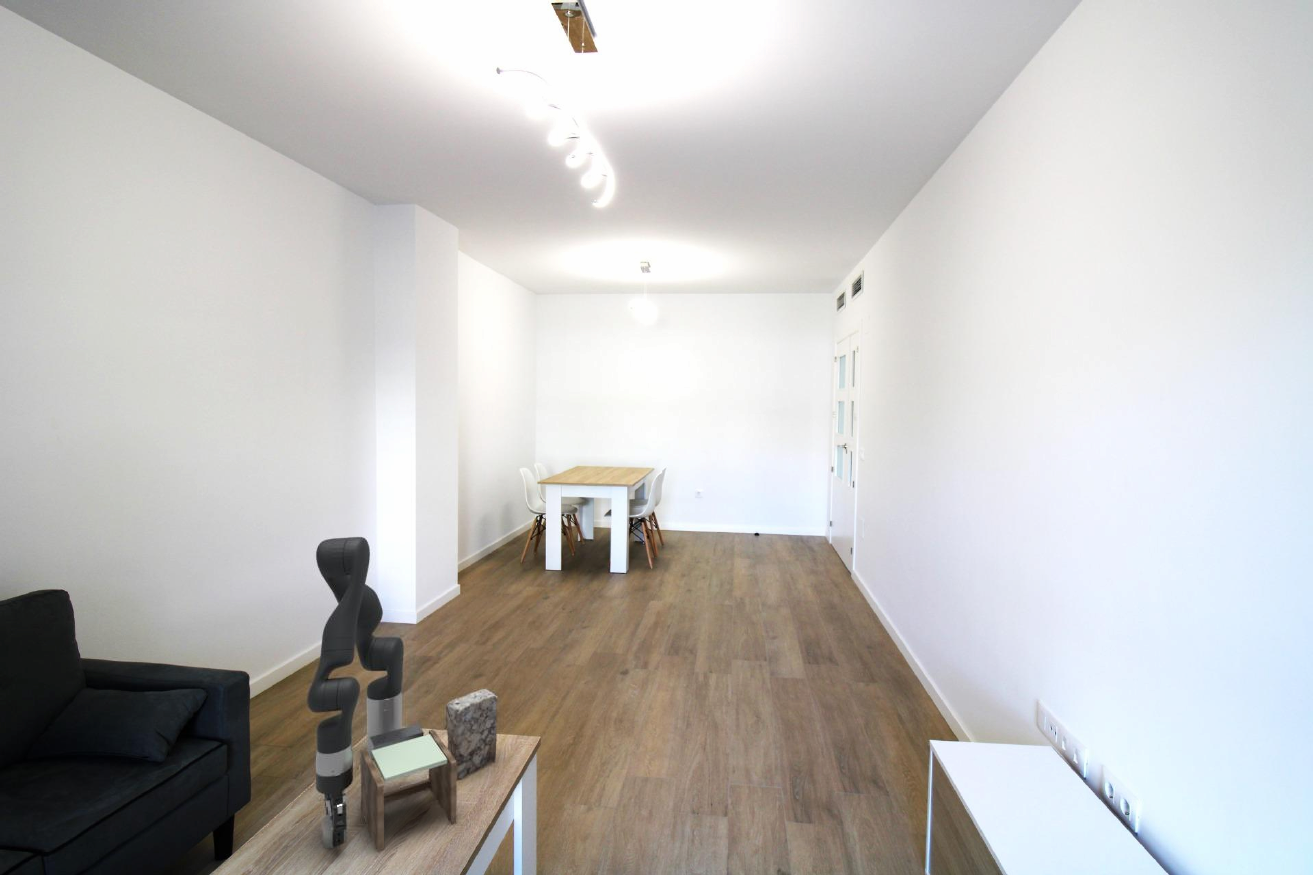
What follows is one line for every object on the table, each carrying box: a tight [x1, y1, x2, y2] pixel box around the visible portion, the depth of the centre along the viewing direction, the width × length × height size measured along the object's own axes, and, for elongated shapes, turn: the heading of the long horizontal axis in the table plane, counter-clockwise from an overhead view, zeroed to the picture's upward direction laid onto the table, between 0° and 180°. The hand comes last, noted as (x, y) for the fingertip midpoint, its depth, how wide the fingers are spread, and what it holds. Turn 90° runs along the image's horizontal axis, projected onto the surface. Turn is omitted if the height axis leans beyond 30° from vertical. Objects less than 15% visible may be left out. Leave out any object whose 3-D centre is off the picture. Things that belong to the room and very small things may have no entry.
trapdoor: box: [370, 723, 447, 784], centre depth 154 cm, size 21×14×3 cm, turn 36°
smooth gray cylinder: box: [322, 812, 348, 849], centre depth 143 cm, size 5×5×6 cm
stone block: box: [445, 688, 499, 780], centre depth 173 cm, size 13×7×20 cm, turn 145°
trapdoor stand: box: [360, 729, 458, 853], centre depth 152 cm, size 18×18×15 cm
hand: (334, 834), depth 143 cm, fingers open, 8 cm apart
